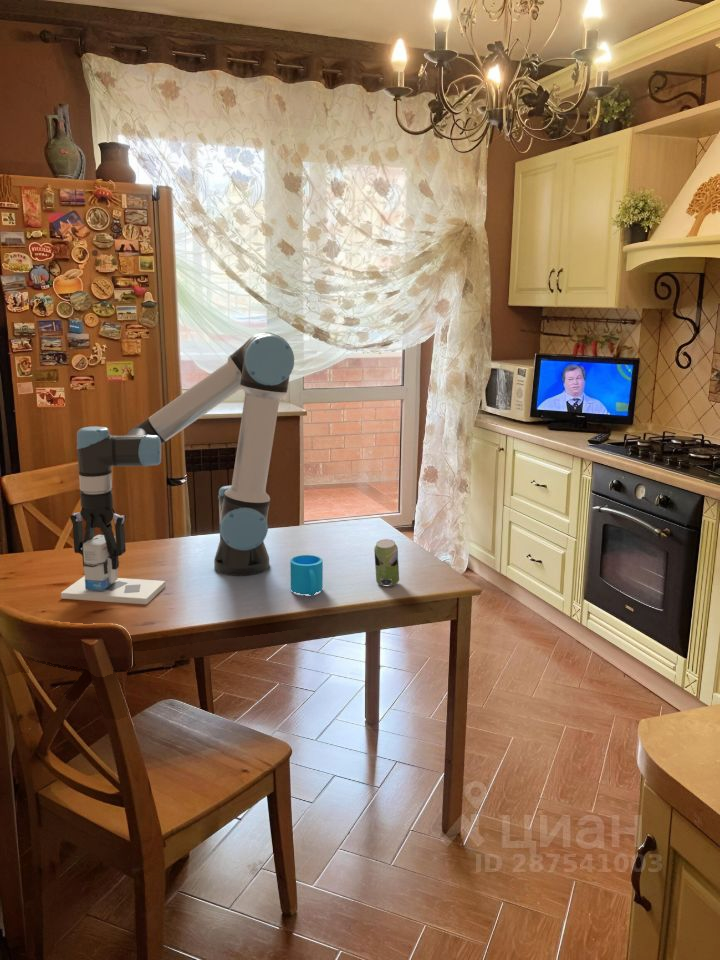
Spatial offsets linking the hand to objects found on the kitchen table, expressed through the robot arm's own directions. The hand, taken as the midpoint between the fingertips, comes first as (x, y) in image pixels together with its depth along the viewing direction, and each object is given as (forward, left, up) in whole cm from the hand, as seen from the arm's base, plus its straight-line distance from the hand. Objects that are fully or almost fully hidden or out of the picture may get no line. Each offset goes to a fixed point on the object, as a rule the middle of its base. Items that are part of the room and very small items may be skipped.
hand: (101, 580), depth 190 cm
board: (-3, 0, -3) cm, 4 cm away
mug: (-51, -8, -3) cm, 52 cm away
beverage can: (-70, -17, -3) cm, 72 cm away
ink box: (0, 0, -1) cm, 1 cm away
